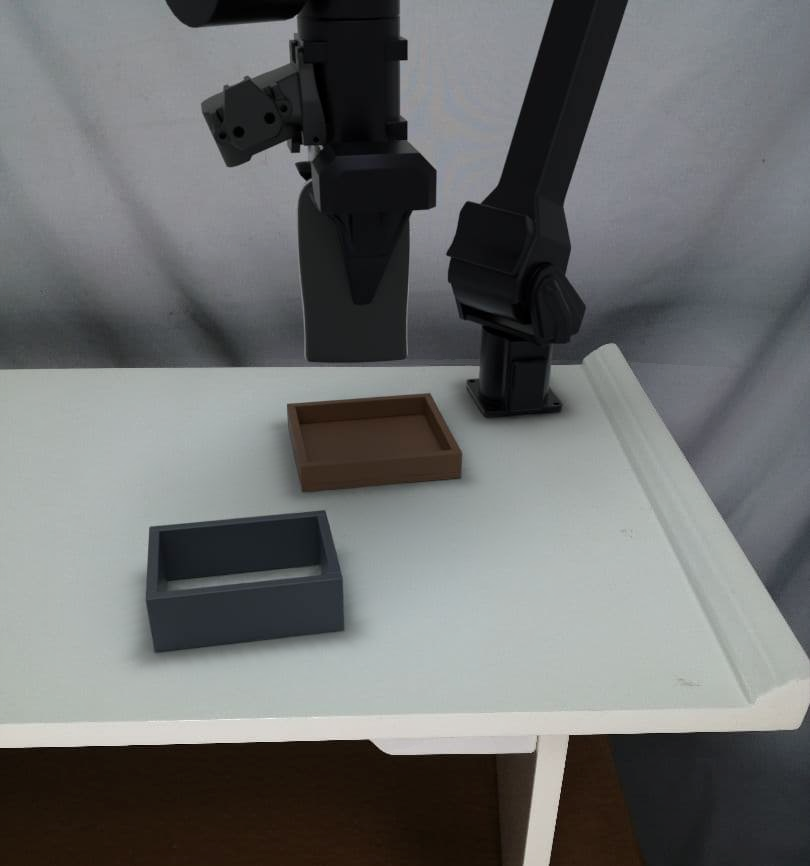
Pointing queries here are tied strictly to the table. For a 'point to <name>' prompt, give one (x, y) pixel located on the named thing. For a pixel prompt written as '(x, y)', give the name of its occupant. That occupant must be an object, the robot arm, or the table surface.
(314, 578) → the dock
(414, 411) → the tray
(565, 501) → the table surface
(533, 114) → the robot arm
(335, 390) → the table surface
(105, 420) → the table surface
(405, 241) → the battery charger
